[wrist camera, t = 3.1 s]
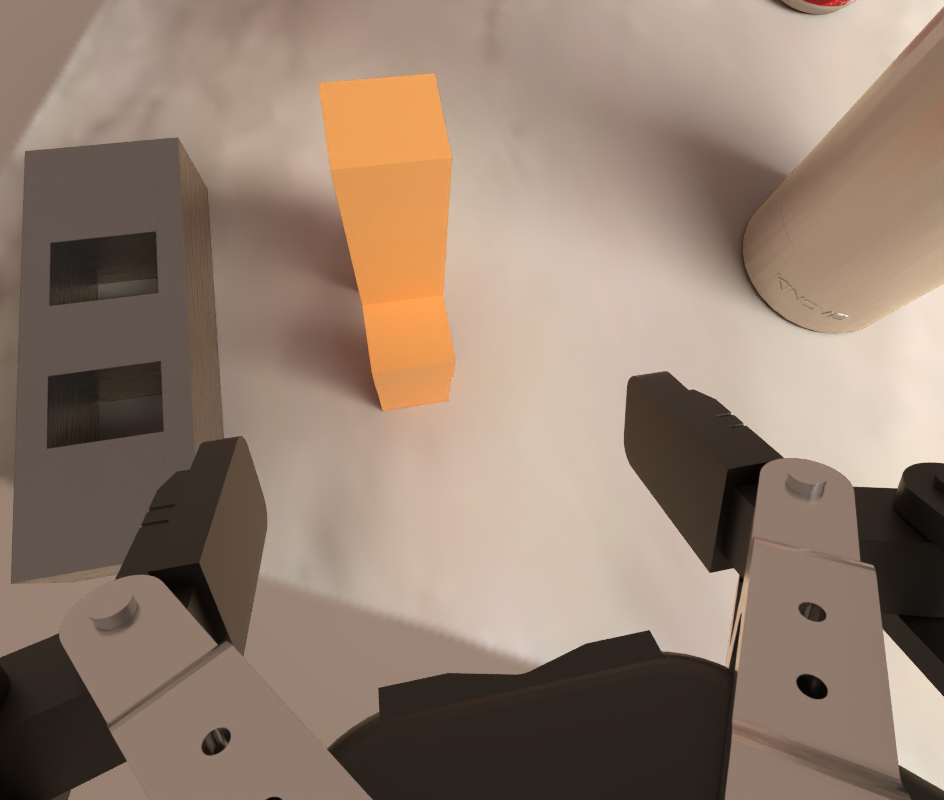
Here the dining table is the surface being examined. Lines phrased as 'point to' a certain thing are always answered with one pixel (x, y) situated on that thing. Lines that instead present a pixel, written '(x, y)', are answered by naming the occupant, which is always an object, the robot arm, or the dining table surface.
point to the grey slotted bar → (108, 348)
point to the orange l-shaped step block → (395, 226)
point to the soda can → (818, 5)
